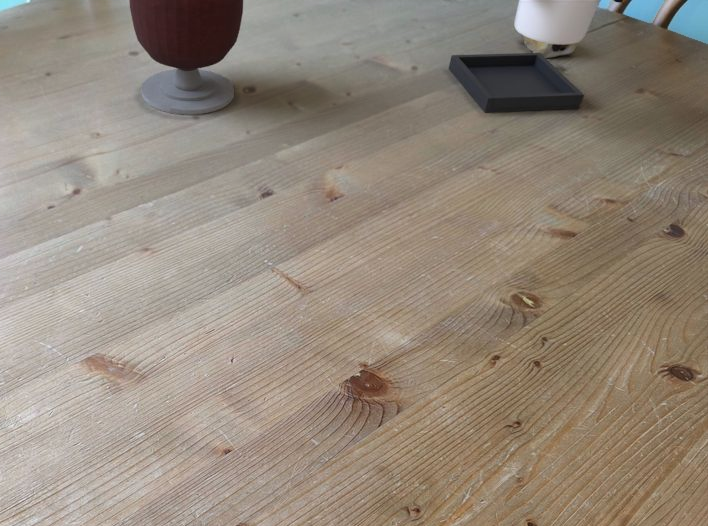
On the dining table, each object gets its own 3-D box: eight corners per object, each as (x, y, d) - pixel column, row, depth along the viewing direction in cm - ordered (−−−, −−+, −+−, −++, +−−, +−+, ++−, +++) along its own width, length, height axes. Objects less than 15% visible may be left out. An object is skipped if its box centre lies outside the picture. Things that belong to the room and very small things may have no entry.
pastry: (507, 35, 118) (515, 10, 116) (544, 33, 120) (552, 8, 117) (539, 60, 112) (548, 34, 109) (578, 57, 114) (587, 31, 111)
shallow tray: (535, 66, 110) (539, 52, 109) (579, 108, 101) (584, 94, 100) (448, 68, 109) (451, 55, 107) (484, 112, 99) (488, 98, 98)
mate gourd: (120, 80, 102) (107, -85, 88) (212, 64, 106) (214, -95, 92) (164, 131, 92) (158, -45, 78) (264, 111, 97) (274, -59, 83)
